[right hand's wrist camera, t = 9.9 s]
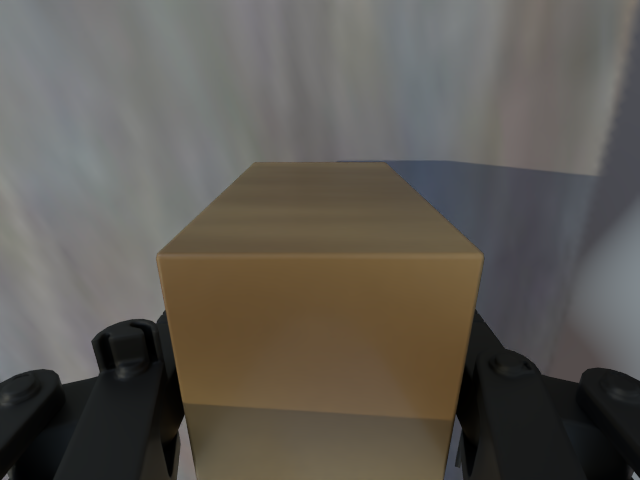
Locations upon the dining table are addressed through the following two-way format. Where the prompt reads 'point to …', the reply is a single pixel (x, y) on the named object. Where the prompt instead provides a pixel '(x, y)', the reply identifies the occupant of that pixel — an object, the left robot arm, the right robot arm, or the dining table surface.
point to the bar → (320, 325)
